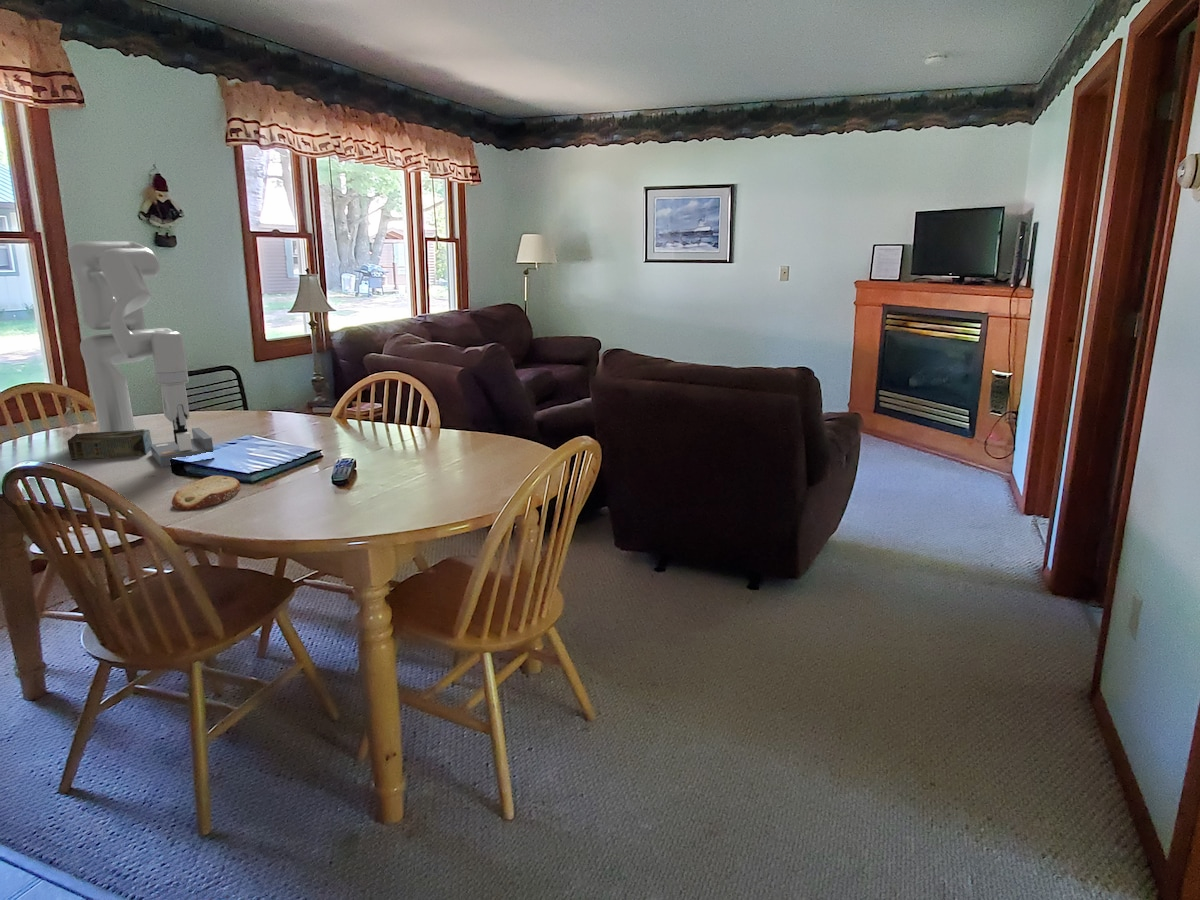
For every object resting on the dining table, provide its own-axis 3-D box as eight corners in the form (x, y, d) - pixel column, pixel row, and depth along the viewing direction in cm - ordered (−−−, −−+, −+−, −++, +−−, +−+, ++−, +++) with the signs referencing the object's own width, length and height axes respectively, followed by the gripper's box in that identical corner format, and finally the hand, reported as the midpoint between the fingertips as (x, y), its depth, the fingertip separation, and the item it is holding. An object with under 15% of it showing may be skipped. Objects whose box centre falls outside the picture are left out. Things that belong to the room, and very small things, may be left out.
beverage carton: (147, 455, 222) (143, 433, 220) (69, 462, 217) (64, 439, 215) (153, 448, 230) (149, 426, 228) (78, 454, 224) (74, 432, 222)
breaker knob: (178, 449, 214) (175, 433, 213) (190, 447, 216) (188, 431, 215) (180, 451, 212) (177, 435, 211) (192, 449, 214) (189, 433, 213)
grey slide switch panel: (151, 455, 222) (148, 434, 220) (202, 447, 229) (199, 427, 228) (162, 467, 210) (158, 445, 208) (214, 458, 217) (211, 437, 216)
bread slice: (228, 481, 198) (226, 466, 197) (261, 495, 187) (259, 480, 186) (152, 498, 185) (149, 483, 184) (182, 515, 174) (180, 499, 173)
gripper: (152, 375, 215) (162, 439, 220) (162, 383, 204) (172, 451, 209) (182, 372, 220) (191, 435, 225) (193, 380, 208) (203, 446, 213)
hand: (182, 443), depth 217 cm, fingers closed
